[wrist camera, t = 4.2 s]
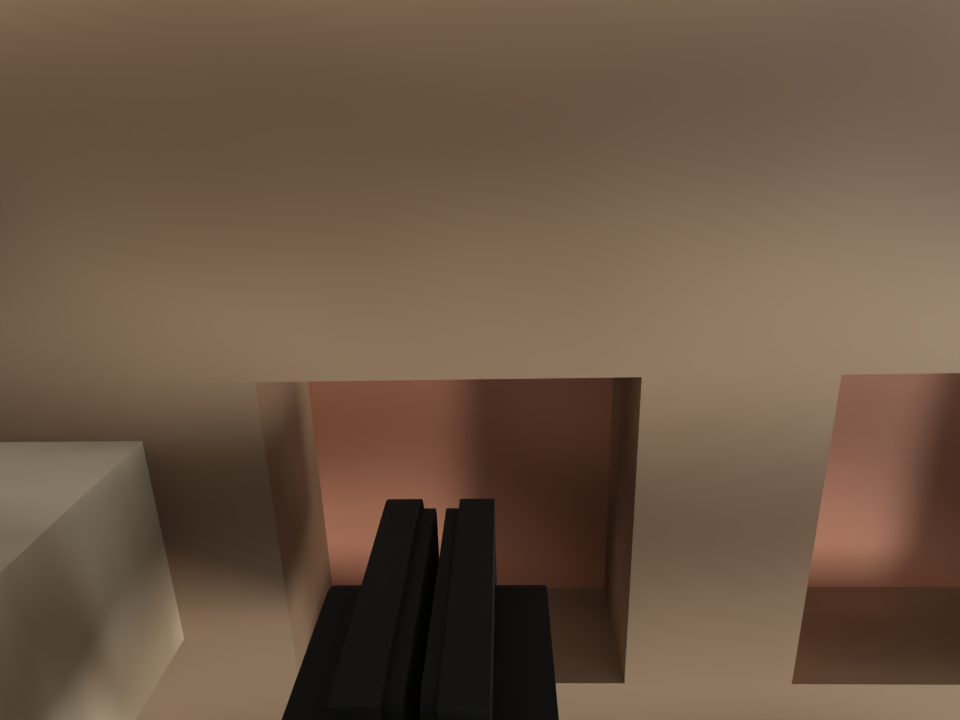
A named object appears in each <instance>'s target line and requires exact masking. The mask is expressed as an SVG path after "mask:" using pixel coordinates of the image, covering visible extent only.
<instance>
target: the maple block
mask: <svg viewBox="0 0 960 720" xmlns="http://www.w3.org/2000/svg"><path fill="white" fill-rule="evenodd" d="M183 640H184V635H183V631H182V626H181V621H180V617H179V612H178V607H177V602H176V598H175V593H174V588H173V584H172V579H171V574H170V570H169V565H168V560H167V556H166V551H165V546H164V541H163V537H162V532H161V527H160V523H159V518H158V513H157V509H156V504H155V499H154V495H153V490H152V485H151V480H150V476H149V471H148V466H147V462H146V457H145V452H144V448H143V443H142V441H81V442H0V720H136V718H137V717H138V715H139V713H140V712H141V710H142V708H143V707H144V705H145V703H146V702H147V700H148V698H149V697H150V695H151V693H152V692H153V690H154V688H155V687H156V685H157V683H158V682H159V680H160V678H161V677H162V675H163V673H164V672H165V670H166V668H167V667H168V665H169V663H170V662H171V660H172V658H173V657H174V655H175V653H176V652H177V650H178V648H179V647H180V645H181V643H182V642H183Z"/></svg>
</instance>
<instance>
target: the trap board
mask: <svg viewBox="0 0 960 720" xmlns="http://www.w3.org/2000/svg"><path fill="white" fill-rule="evenodd" d="M81 441H142V443H143V448H144V452H145V457H146V462H147V466H148V471H149V476H150V480H151V485H152V490H153V495H154V499H155V504H156V509H157V513H158V518H159V523H160V527H161V532H162V537H163V541H164V546H165V551H166V556H167V560H168V565H169V570H170V574H171V579H172V584H173V588H174V593H175V598H176V602H177V607H178V612H179V617H180V621H181V626H182V631H183V635H184V640H183V642H182V643H181V645H180V647H179V648H178V650H177V652H176V653H175V655H174V657H173V658H172V660H171V662H170V663H169V665H168V667H167V668H166V670H165V672H164V673H163V675H162V677H161V678H160V680H159V682H158V683H157V685H156V687H155V688H154V690H153V692H152V693H151V695H150V697H149V698H148V700H147V702H146V703H145V705H144V707H143V708H142V710H141V712H140V713H139V715H138V717H137V718H136V720H282V717H283V714H284V711H285V709H286V706H287V703H288V700H289V697H290V695H291V692H292V689H293V686H294V684H295V681H296V678H297V675H298V672H299V670H300V667H301V664H302V661H303V658H304V656H305V653H306V650H307V647H308V645H309V642H310V639H311V636H312V633H313V631H314V628H315V625H316V622H317V619H318V617H319V614H320V611H321V608H322V606H323V603H324V600H325V597H326V595H327V593H328V590H329V588H330V587H332V586H333V585H362V581H363V578H364V574H365V571H366V568H367V564H368V561H369V557H370V554H371V551H372V547H373V544H374V540H375V537H376V534H377V530H378V527H379V523H380V520H381V516H382V513H383V510H384V506H385V503H386V501H387V500H388V499H422V500H423V503H424V508H436V511H437V524H438V543H439V556H440V549H441V542H442V535H443V527H444V520H445V513H446V509H447V508H459V502H460V499H494V498H495V522H496V568H497V585H546V587H547V595H548V606H549V617H550V627H551V638H552V649H553V660H554V671H555V682H556V693H557V704H558V715H559V720H960V0H0V442H81Z"/></svg>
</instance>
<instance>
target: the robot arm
mask: <svg viewBox="0 0 960 720" xmlns="http://www.w3.org/2000/svg"><path fill="white" fill-rule="evenodd" d="M282 720H559V715H558V704H557V693H556V682H555V671H554V660H553V649H552V638H551V627H550V617H549V606H548V595H547V587H546V585H497V568H496V522H495V498H494V499H460V502H459V508H447V509H446V513H445V520H444V527H443V535H442V542H441V549H440V556H439V543H438V524H437V511H436V508H424V503H423V500H422V499H388V500H387V501H386V503H385V506H384V510H383V513H382V516H381V520H380V523H379V527H378V530H377V534H376V537H375V540H374V544H373V547H372V551H371V554H370V557H369V561H368V564H367V568H366V571H365V574H364V578H363V581H362V585H333V586H332V587H330V588H329V590H328V593H327V595H326V597H325V600H324V603H323V606H322V608H321V611H320V614H319V617H318V619H317V622H316V625H315V628H314V631H313V633H312V636H311V639H310V642H309V645H308V647H307V650H306V653H305V656H304V658H303V661H302V664H301V667H300V670H299V672H298V675H297V678H296V681H295V684H294V686H293V689H292V692H291V695H290V697H289V700H288V703H287V706H286V709H285V711H284V714H283V717H282Z"/></svg>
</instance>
